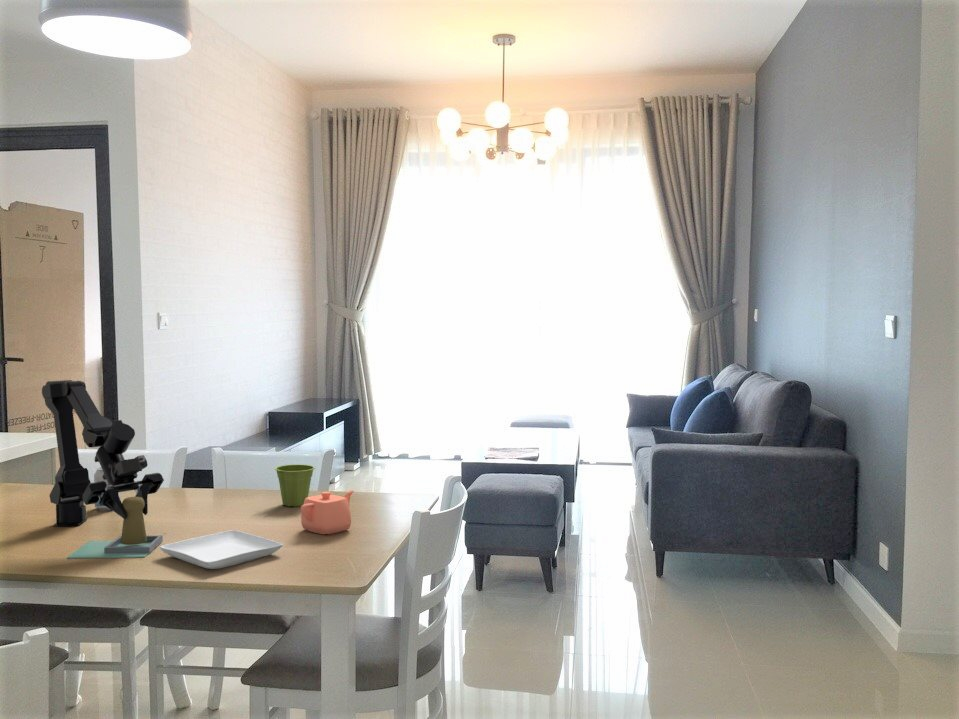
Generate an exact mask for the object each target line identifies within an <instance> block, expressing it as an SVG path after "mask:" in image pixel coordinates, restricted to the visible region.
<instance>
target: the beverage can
mask: <svg viewBox="0 0 959 719" xmlns="http://www.w3.org/2000/svg"><path fill="white" fill-rule="evenodd" d="M103 474H104V472H103V470H102V468H101V466H100V467H97V468H96V470H95V472H94V474H93V483H94V482H100V481H104V482H106V484H108V482H107V479H105V480H104V479H103V477H102V476H103ZM118 494H119V498H120V499H121V492H119V493H118ZM100 500H101V499H100V497H99V501H98V502H97V503H95V504H94V508H96V509H98V511H104V512H105V511H112V510H111V509H109V508H108V507H106V506H104V505H100V504H99V502H100Z"/></svg>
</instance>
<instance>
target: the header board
mask: <svg viewBox="0 0 959 719" xmlns="http://www.w3.org/2000/svg"><path fill="white" fill-rule="evenodd" d="M121 536H122V535H119V536H118V537H117V538H115V539H114V540H88V541H87V542H86V543H85V544H83V545H82V546H80V547H79V548H78V549H76V550H74V551H73V552H72V553H71V554H70V555H68V556H67V557H66V559H117V558H121V559H122V558H123V559H125V558H127V559H128V558H129V559H130V558H135V559H137V558H146V557H147V556H148V555H149V554H150V553H151V552H153V551H154V549H156V547H158V546H159V545H160V544H161V543H162V542H163V537H164V536H163V535H162V534H161V535H157V534H156V535H153V534H151V535H149V534H146V536H147V541H146V542H144V543H141V544H135V545H125V544H121Z"/></svg>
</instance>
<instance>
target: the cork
mask: <svg viewBox="0 0 959 719" xmlns="http://www.w3.org/2000/svg"><path fill="white" fill-rule="evenodd" d="M121 503H122V505H123V507H124V509H125V511H126V514H127V518H126V519H124V518H123V521H122V529H121V535H120V536H121V544H125V545H135V544H141V543H144V542H146V541H147V536H148V535H147V531H146V527H145V526H146V525H145V518H144V513H143V511H142V510H143V508H144V506H145V502H144V500H143V498H141V497H135V496H129V497H126V498H123V500H122V501H121ZM146 535H147V536H146Z"/></svg>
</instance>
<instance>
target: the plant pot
mask: <svg viewBox="0 0 959 719" xmlns="http://www.w3.org/2000/svg"><path fill="white" fill-rule="evenodd" d="M315 469H316V467H315V466H313V465H311V464H285V465H278V466H276V467H274V470H275V471H276V474H277V479H278V484H279V488H280V489H279V490H280V496H281V501H282V505H283V506H284V505H285V506H287V507H290V506H294V507H296V506H298V507H301V506H302V505H304V501H305V498H307V497H309V495H310V488H311V482H312V477H313V474H314V473H313V472H314V470H315Z"/></svg>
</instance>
